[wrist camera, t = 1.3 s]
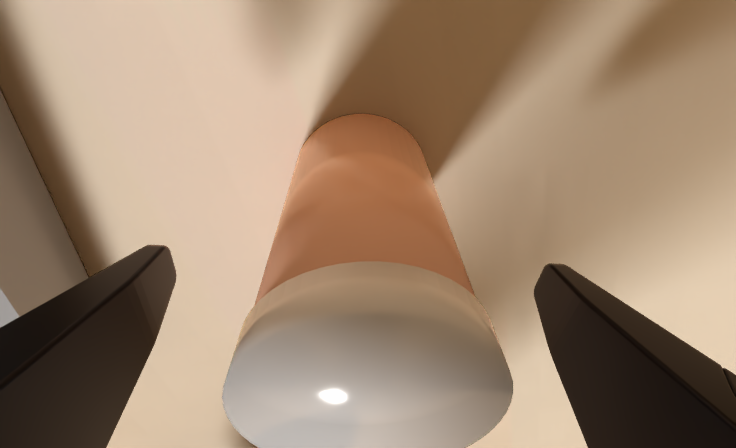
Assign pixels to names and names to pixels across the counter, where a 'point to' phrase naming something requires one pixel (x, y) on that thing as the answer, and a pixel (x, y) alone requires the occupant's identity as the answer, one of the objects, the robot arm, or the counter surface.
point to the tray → (29, 231)
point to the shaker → (365, 309)
